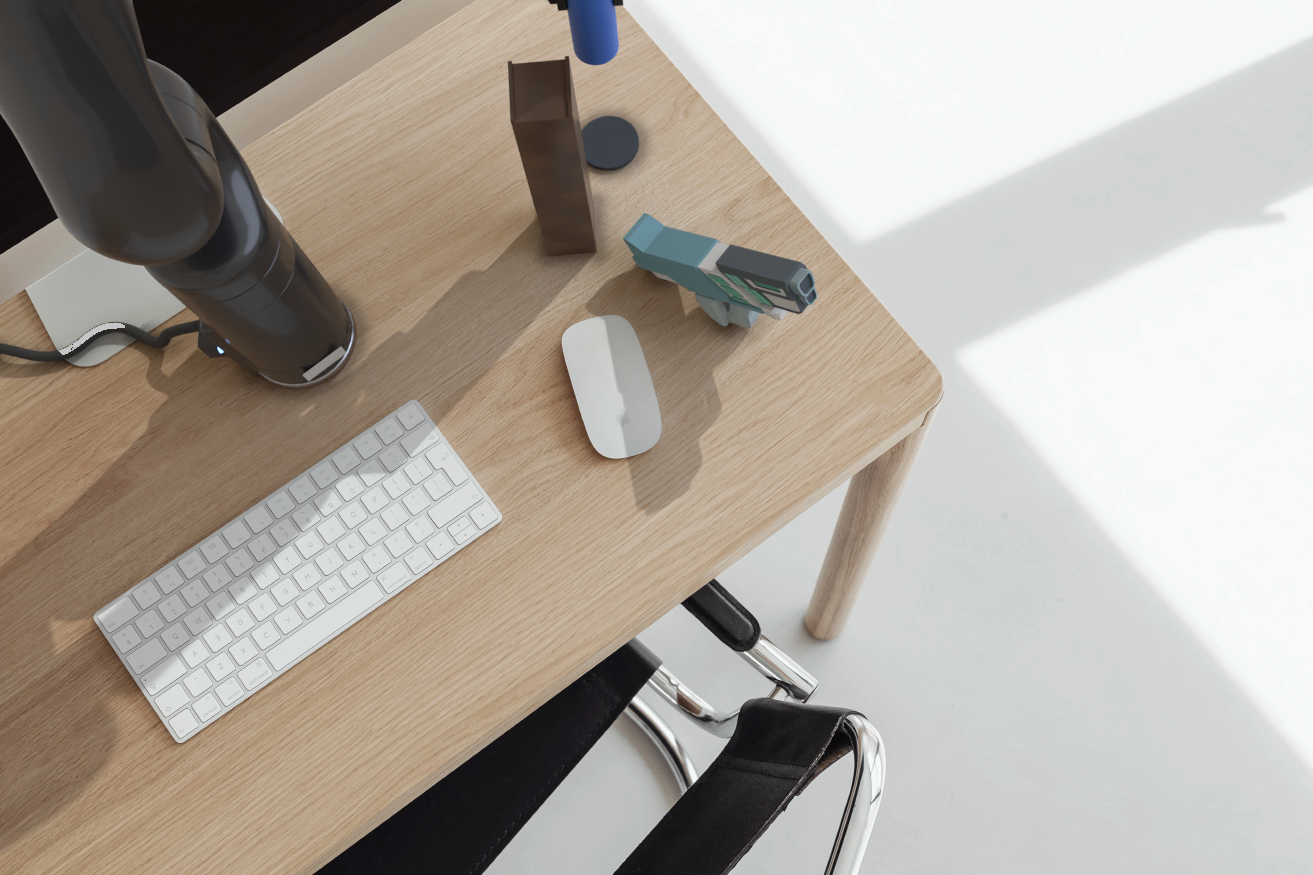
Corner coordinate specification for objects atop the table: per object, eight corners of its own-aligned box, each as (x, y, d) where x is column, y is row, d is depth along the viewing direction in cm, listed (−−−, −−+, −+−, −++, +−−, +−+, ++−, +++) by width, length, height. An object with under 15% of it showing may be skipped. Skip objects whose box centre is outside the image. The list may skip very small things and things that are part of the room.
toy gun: (831, 371, 79) (783, 286, 72) (671, 316, 92) (618, 240, 85) (857, 337, 80) (812, 250, 73) (695, 287, 93) (644, 209, 86)
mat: (580, 173, 92) (580, 170, 92) (577, 121, 94) (576, 118, 93) (641, 168, 92) (641, 165, 92) (636, 116, 94) (636, 113, 93)
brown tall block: (548, 256, 90) (510, 121, 70) (545, 207, 91) (507, 61, 72) (597, 252, 90) (572, 115, 70) (593, 203, 91) (568, 55, 72)
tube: (559, -57, 71) (560, -16, 70) (609, -61, 71) (611, -19, 70) (572, 29, 80) (574, 67, 79) (617, 26, 80) (620, 64, 79)
